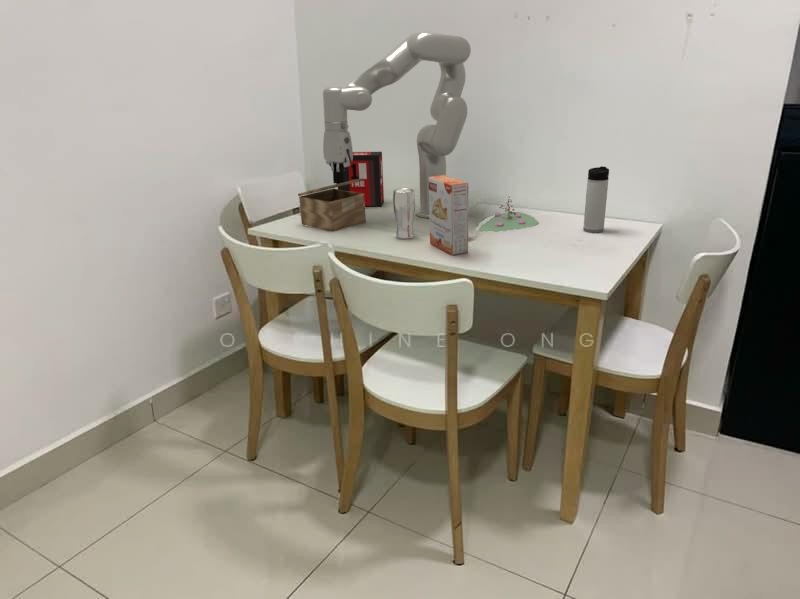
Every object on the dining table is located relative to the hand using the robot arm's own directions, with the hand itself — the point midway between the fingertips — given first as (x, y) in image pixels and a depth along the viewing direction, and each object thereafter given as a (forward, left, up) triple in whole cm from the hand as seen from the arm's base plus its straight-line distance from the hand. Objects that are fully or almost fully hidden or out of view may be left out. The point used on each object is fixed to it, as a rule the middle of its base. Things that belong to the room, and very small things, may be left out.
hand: (338, 182), depth 206 cm
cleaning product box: (+16, -26, -15) cm, 35 cm away
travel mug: (-72, -44, -15) cm, 86 cm away
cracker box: (-46, -1, -15) cm, 49 cm away
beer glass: (-27, -3, -15) cm, 31 cm away
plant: (-44, -35, -16) cm, 58 cm away
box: (+5, -1, -15) cm, 16 cm away
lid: (+5, -1, -2) cm, 6 cm away
